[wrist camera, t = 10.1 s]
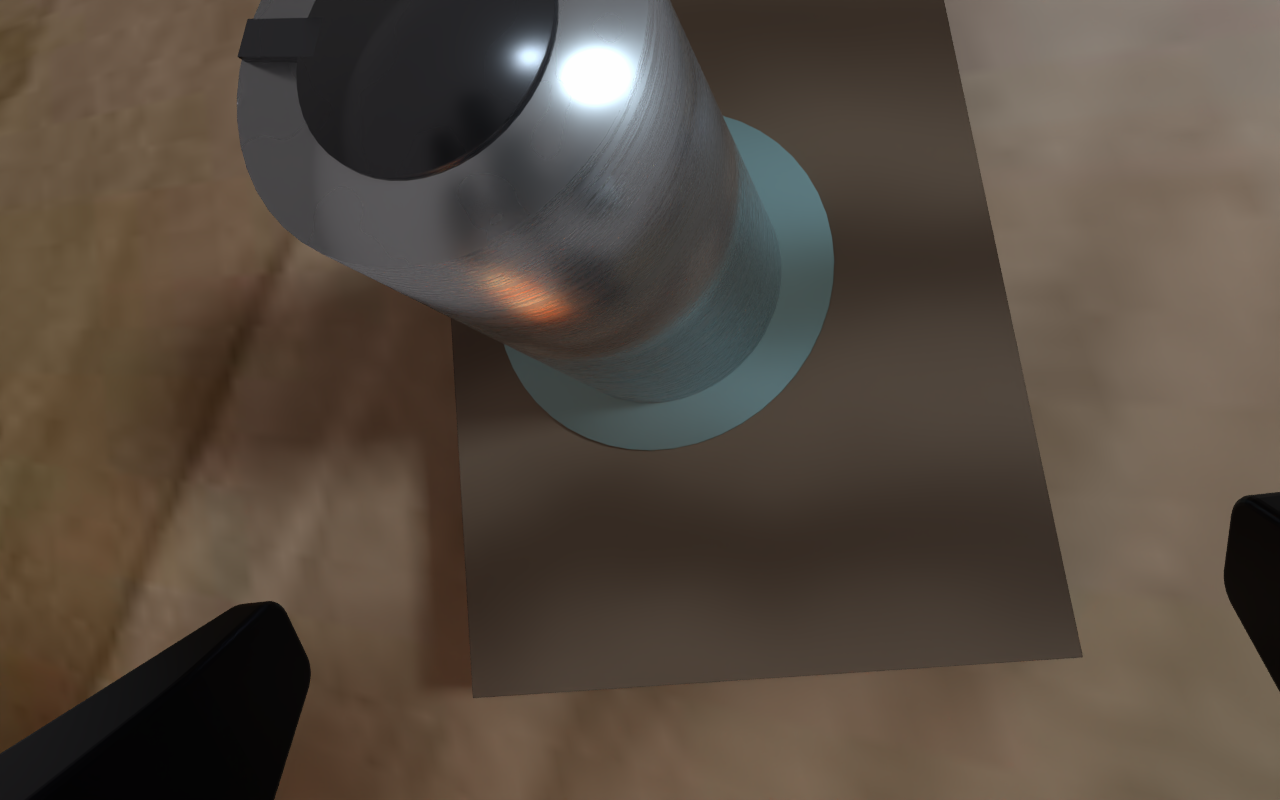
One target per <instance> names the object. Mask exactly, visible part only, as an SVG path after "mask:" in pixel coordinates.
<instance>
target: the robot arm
mask: <svg viewBox="0 0 1280 800" xmlns="http://www.w3.org/2000/svg"><path fill="white" fill-rule="evenodd" d="M1224 584H1225V588H1226V592H1227V595H1228V598H1229V600H1230V602H1231V604H1232V606H1233V608H1234V610H1235V612H1236V613H1237V615H1238V617H1239V619H1240V621H1241V623H1242V624H1243V626H1244V628H1245V630H1246V632H1247V633H1248V635H1249V637H1250V639H1251V641H1252V643H1253V644H1254V646H1255V648H1256V650H1257V652H1258V653H1259V655H1260V657H1261V659H1262V661H1263V662H1264V664H1265V666H1266V668H1267V670H1268V672H1269V673H1270V675H1271V677H1272V679H1273V681H1274V682H1275V684H1276V686H1277V688H1278V690H1279V692H1280V492H1275V493H1266V494H1257V495H1248V496H1244V497H1242V498H1241V499H1239V500H1238V501H1237V502H1236V503H1235V505H1234V507H1233V510H1232V514H1231V521H1230V529H1229V536H1228V544H1227V551H1226V559H1225V567H1224ZM310 677H311V670H310V663H309V660H308V657H307V655H306V653H305V651H304V648H303V646H302V644H301V642H300V640H299V638H298V636H297V634H296V632H295V630H294V628H293V625H292V623H291V621H290V619H289V617H288V615H287V613H286V611H285V610H284V608H283V607H282V606H281V605H279V604H278V603H276V602H272V601H266V602H256V603H247V604H240V605H237V606H234V607H232V608H231V609H229V610H227V611H226V612H224V613H223V614H221V615H219V616H218V617H216V618H215V619H213V620H212V621H210V622H208V623H207V624H205V625H204V626H202V627H200V628H199V629H197V630H196V631H194V632H193V633H191V634H189V635H188V636H186V637H185V638H183V639H181V640H180V641H178V642H177V643H175V644H174V645H172V646H170V647H169V648H167V649H166V650H164V651H162V652H161V653H159V654H158V655H156V656H155V657H153V658H151V659H150V660H148V661H147V662H145V663H143V664H142V665H140V666H139V667H137V668H135V669H134V670H132V671H131V672H129V673H128V674H126V675H124V676H123V677H121V678H120V679H118V680H116V681H115V682H113V683H112V684H110V685H109V686H107V687H105V688H104V689H102V690H101V691H99V692H97V693H96V694H94V695H93V696H91V697H90V698H88V699H86V700H85V701H83V702H82V703H80V704H78V705H77V706H75V707H74V708H72V709H71V710H69V711H67V712H66V713H64V714H63V715H61V716H59V717H58V718H56V719H55V720H53V721H52V722H50V723H48V724H47V725H45V726H44V727H42V728H40V729H39V730H37V731H36V732H34V733H33V734H31V735H29V736H28V737H26V738H25V739H23V740H21V741H20V742H18V743H17V744H15V745H14V746H12V747H10V748H9V749H7V750H6V751H4V752H2V753H1V754H0V800H274V799H275V795H276V792H277V789H278V786H279V782H280V779H281V776H282V773H283V769H284V766H285V763H286V760H287V756H288V753H289V750H290V747H291V743H292V740H293V737H294V734H295V730H296V727H297V724H298V721H299V717H300V714H301V711H302V708H303V704H304V701H305V698H306V695H307V692H308V688H309V684H310Z"/></svg>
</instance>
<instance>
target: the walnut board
mask: <svg viewBox="0 0 1280 800" xmlns="http://www.w3.org/2000/svg"><path fill="white" fill-rule="evenodd" d="M670 1H671V4H672V6H673V8H674V10H675V12H676V15H677V17H678V19H679V21H680V23H681V25H682V28H683V30H684V32H685V34H686V36H687V39H688V41H689V43H690V45H691V47H692V50H693V52H694V54H695V56H696V58H697V61H698V63H699V65H700V67H701V69H702V72H703V74H704V76H705V78H706V80H707V82H708V85H709V87H710V89H711V91H712V93H713V96H714V98H715V100H716V102H717V104H718V107H719V109H720V111H721V113H722V115H723V118H724V120H725V122H726V124H727V126H728V129H729V131H730V133H731V135H732V137H733V139H734V142H735V144H736V146H737V148H738V150H739V153H740V155H741V157H742V159H743V161H744V164H745V166H746V168H747V170H748V172H749V175H750V177H751V179H752V181H753V183H754V186H755V188H756V190H757V192H758V194H759V196H760V199H761V201H762V203H763V205H764V207H765V210H766V212H767V214H768V216H769V218H770V221H771V223H772V225H773V227H774V230H775V233H776V236H777V239H778V243H779V248H780V254H781V269H782V277H781V286H780V293H779V297H778V301H777V305H776V309H775V312H774V314H773V317H772V319H771V322H770V324H769V326H768V328H767V330H766V332H765V333H764V335H763V337H762V339H761V341H760V342H759V343H758V345H757V346H756V347H755V349H754V350H753V352H752V353H751V354H750V355H749V356H748V357H747V359H746V360H745V361H744V362H743V363H742V364H741V365H740V366H739V367H738V368H737V369H735V370H734V371H733V372H732V373H731V374H729V375H728V376H727V377H726V378H724V379H723V380H721V381H720V382H718V383H717V384H715V385H713V386H712V387H710V388H708V389H706V390H704V391H702V392H699V393H697V394H695V395H692V396H689V397H686V398H683V399H680V400H674V401H669V402H663V403H639V402H630V401H626V400H621V399H617V398H614V397H612V396H609V395H607V394H604V393H602V392H600V391H598V390H596V389H594V388H592V387H590V386H588V385H586V384H583V383H581V382H579V381H577V380H575V379H573V378H571V377H569V376H567V375H565V374H563V373H561V372H559V371H557V370H555V369H553V368H551V367H549V366H547V365H545V364H543V363H541V362H539V361H537V360H535V359H533V358H531V357H529V356H527V355H525V354H523V353H521V352H519V351H517V350H515V349H513V348H511V347H509V346H507V345H505V344H503V343H501V342H499V341H497V340H495V339H493V338H491V337H489V336H487V335H485V334H483V333H481V332H479V331H477V330H475V329H473V328H471V327H469V326H467V325H465V324H463V323H461V322H459V321H457V320H455V319H453V318H451V325H452V343H453V360H454V377H455V395H456V412H457V430H458V447H459V464H460V482H461V499H462V516H463V534H464V551H465V568H466V586H467V603H468V620H469V638H470V655H471V672H472V690H473V698H481V697H496V696H511V695H526V694H541V693H556V692H571V691H586V690H601V689H616V688H631V687H646V686H661V685H676V684H690V683H705V682H720V681H735V680H750V679H765V678H780V677H795V676H810V675H825V674H840V673H855V672H870V671H885V670H900V669H915V668H929V667H944V666H959V665H974V664H989V663H1004V662H1019V661H1034V660H1049V659H1064V658H1079V657H1083V656H1082V651H1081V646H1080V642H1079V637H1078V632H1077V627H1076V623H1075V618H1074V613H1073V608H1072V604H1071V599H1070V594H1069V590H1068V585H1067V580H1066V575H1065V571H1064V566H1063V561H1062V556H1061V552H1060V547H1059V542H1058V538H1057V533H1056V528H1055V523H1054V519H1053V514H1052V509H1051V504H1050V500H1049V495H1048V490H1047V486H1046V481H1045V476H1044V471H1043V467H1042V462H1041V457H1040V452H1039V448H1038V443H1037V438H1036V434H1035V429H1034V424H1033V419H1032V415H1031V410H1030V405H1029V400H1028V396H1027V391H1026V386H1025V382H1024V377H1023V372H1022V367H1021V363H1020V358H1019V353H1018V348H1017V344H1016V339H1015V334H1014V330H1013V325H1012V320H1011V315H1010V311H1009V306H1008V301H1007V296H1006V292H1005V287H1004V282H1003V278H1002V273H1001V268H1000V263H999V259H998V254H997V249H996V244H995V240H994V235H993V230H992V226H991V221H990V216H989V211H988V207H987V202H986V197H985V192H984V188H983V183H982V178H981V174H980V169H979V164H978V159H977V155H976V150H975V145H974V140H973V136H972V131H971V126H970V122H969V117H968V112H967V107H966V103H965V98H964V93H963V88H962V84H961V79H960V74H959V70H958V65H957V60H956V55H955V51H954V46H953V41H952V36H951V32H950V27H949V22H948V18H947V13H946V8H945V3H944V0H670Z"/></svg>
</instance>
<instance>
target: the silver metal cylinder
mask: <svg viewBox="0 0 1280 800" xmlns="http://www.w3.org/2000/svg"><path fill="white" fill-rule="evenodd" d="M238 57H239V58H240V59H242V62H241V66H240V73H239V82H238V92H237V122H238V130H239V137H240V145H241V149H242V152H243V156H244V160H245V164H246V167H247V170H248V172H249V175H250V177H251V179H252V182H253V184H254V186H255V189H256V191H257V192H258V194H259V196H260V197H261V199H262V200H263V202H264V204H265V205H266V207H267V208H268V210H269V211H270V212H271V213H272V215H273V216H274V217H275V218H276V219H277V220H278V221H279V223H280V224H281V225H282V226H283V227H284V228H285V229H286V230H287V231H289V232H290V233H291V234H292V235H294V236H295V237H296V238H297V239H298V240H300V241H301V242H302V243H304V244H306V245H308V246H309V247H311V248H313V249H315V250H316V251H318V252H320V253H322V254H324V255H326V256H328V257H330V258H332V259H334V260H336V261H338V262H340V263H342V264H344V265H346V266H348V267H350V268H352V269H354V270H356V271H358V272H360V273H362V274H364V275H366V276H368V277H370V278H372V279H374V280H376V281H378V282H380V283H382V284H384V285H386V286H388V287H390V288H392V289H394V290H396V291H398V292H400V293H402V294H404V295H406V296H408V297H410V298H412V299H414V300H416V301H418V302H420V303H422V304H424V305H426V306H428V307H430V308H432V309H434V310H436V311H438V312H440V313H442V314H444V315H446V316H448V317H450V318H453V319H455V320H457V321H459V322H461V323H463V324H465V325H467V326H469V327H471V328H473V329H475V330H477V331H479V332H481V333H483V334H485V335H487V336H489V337H491V338H493V339H495V340H497V341H499V342H501V343H503V344H505V345H507V346H509V347H511V348H513V349H515V350H517V351H519V352H521V353H523V354H525V355H527V356H529V357H531V358H533V359H535V360H537V361H539V362H541V363H543V364H545V365H547V366H549V367H551V368H553V369H555V370H557V371H559V372H561V373H563V374H565V375H567V376H569V377H571V378H573V379H575V380H577V381H579V382H581V383H583V384H586V385H588V386H590V387H592V388H594V389H596V390H598V391H600V392H602V393H604V394H607V395H609V396H612V397H614V398H617V399H621V400H626V401H630V402H639V403H663V402H669V401H674V400H680V399H683V398H686V397H689V396H692V395H695V394H697V393H699V392H702V391H704V390H706V389H708V388H710V387H712V386H713V385H715V384H717V383H718V382H720V381H721V380H723V379H724V378H726V377H727V376H728V375H729V374H731V373H732V372H733V371H734V370H735V369H737V368H738V367H739V366H740V365H741V364H742V363H743V362H744V361H745V360H746V359H747V357H748V356H749V355H750V354H751V353H752V352H753V350H754V349H755V347H756V346H757V345H758V343H759V342H760V341H761V339H762V337H763V335H764V333H765V332H766V330H767V328H768V326H769V324H770V322H771V319H772V317H773V314H774V312H775V309H776V305H777V301H778V297H779V293H780V286H781V277H782V269H781V254H780V248H779V243H778V239H777V236H776V233H775V230H774V227H773V225H772V223H771V221H770V218H769V216H768V214H767V212H766V210H765V207H764V205H763V203H762V201H761V199H760V196H759V194H758V192H757V190H756V188H755V186H754V183H753V181H752V179H751V177H750V175H749V172H748V170H747V168H746V166H745V164H744V161H743V159H742V157H741V155H740V153H739V150H738V148H737V146H736V144H735V142H734V139H733V137H732V135H731V133H730V131H729V129H728V126H727V124H726V122H725V120H724V118H723V115H722V113H721V111H720V109H719V107H718V104H717V102H716V100H715V98H714V96H713V93H712V91H711V89H710V87H709V85H708V82H707V80H706V78H705V76H704V74H703V72H702V69H701V67H700V65H699V63H698V61H697V58H696V56H695V54H694V52H693V50H692V47H691V45H690V43H689V41H688V39H687V36H686V34H685V32H684V30H683V28H682V25H681V23H680V21H679V19H678V17H677V15H676V12H675V10H674V8H673V6H672V4H671V1H670V0H261V2H260V4H259V7H258V9H257V11H256V14H255V16H254V18H253V19H248V20H247V24H246V27H245V31H244V35H243V39H242V42H241V46H240V50H239V53H238Z"/></svg>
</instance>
